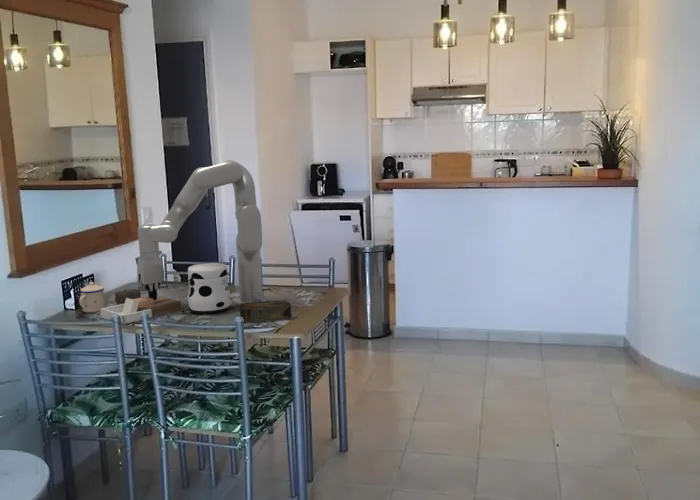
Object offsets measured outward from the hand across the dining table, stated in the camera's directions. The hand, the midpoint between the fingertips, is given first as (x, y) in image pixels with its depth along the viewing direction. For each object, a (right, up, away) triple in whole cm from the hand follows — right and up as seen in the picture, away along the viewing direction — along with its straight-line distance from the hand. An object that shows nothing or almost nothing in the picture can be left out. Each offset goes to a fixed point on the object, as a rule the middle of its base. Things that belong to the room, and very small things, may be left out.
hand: (153, 299), depth 265 cm
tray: (-8, -6, -8) cm, 13 cm away
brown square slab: (+1, -4, +2) cm, 5 cm away
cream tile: (-6, -3, -6) cm, 9 cm away
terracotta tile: (-3, -2, -3) cm, 5 cm away
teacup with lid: (-27, -5, +4) cm, 27 cm away
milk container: (+23, -4, 0) cm, 23 cm away
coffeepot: (-16, +2, +44) cm, 47 cm away
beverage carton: (+48, -6, -15) cm, 50 cm away
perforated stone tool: (-14, -3, +13) cm, 20 cm away
